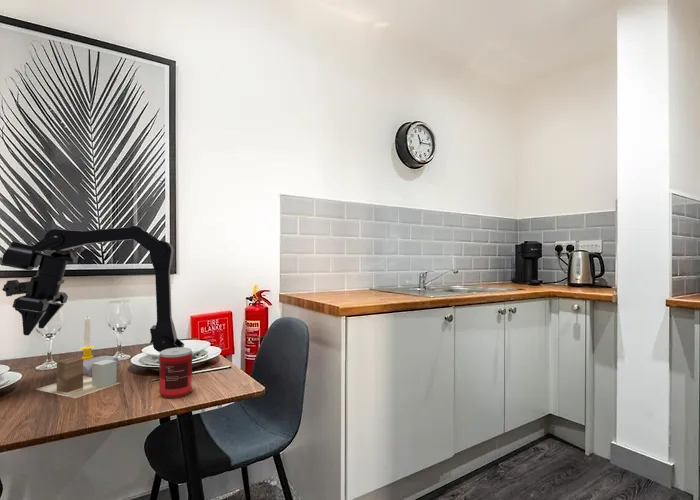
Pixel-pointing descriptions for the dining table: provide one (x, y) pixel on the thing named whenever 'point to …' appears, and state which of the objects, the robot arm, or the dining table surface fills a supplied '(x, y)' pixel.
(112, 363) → the pale grey block
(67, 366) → the walnut block
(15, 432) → the dining table surface
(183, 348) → the canned food
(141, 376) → the dining table surface
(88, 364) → the stone block
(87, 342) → the candle
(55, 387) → the serving board
